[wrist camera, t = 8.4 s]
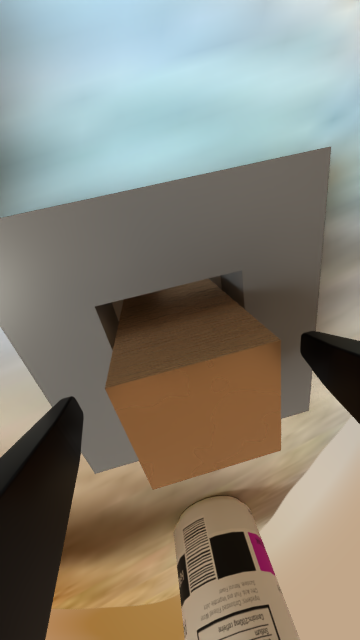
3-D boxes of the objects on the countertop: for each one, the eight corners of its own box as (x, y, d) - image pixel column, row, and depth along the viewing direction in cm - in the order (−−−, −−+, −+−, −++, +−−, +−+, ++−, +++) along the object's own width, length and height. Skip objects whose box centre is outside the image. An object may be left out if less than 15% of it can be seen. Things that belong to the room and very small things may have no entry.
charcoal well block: (276, 373, 16) (308, 410, 13) (104, 422, 16) (94, 473, 12) (274, 168, 11) (330, 146, 8) (3, 227, 10) (-62, 231, 7)
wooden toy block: (216, 345, 14) (280, 450, 7) (147, 364, 13) (152, 489, 7) (205, 276, 12) (280, 340, 6) (124, 296, 12) (104, 388, 5)
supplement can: (262, 497, 23) (426, 870, 10) (220, 538, 26) (307, 884, 12) (199, 486, 21) (308, 979, 7) (159, 533, 23) (185, 971, 10)
